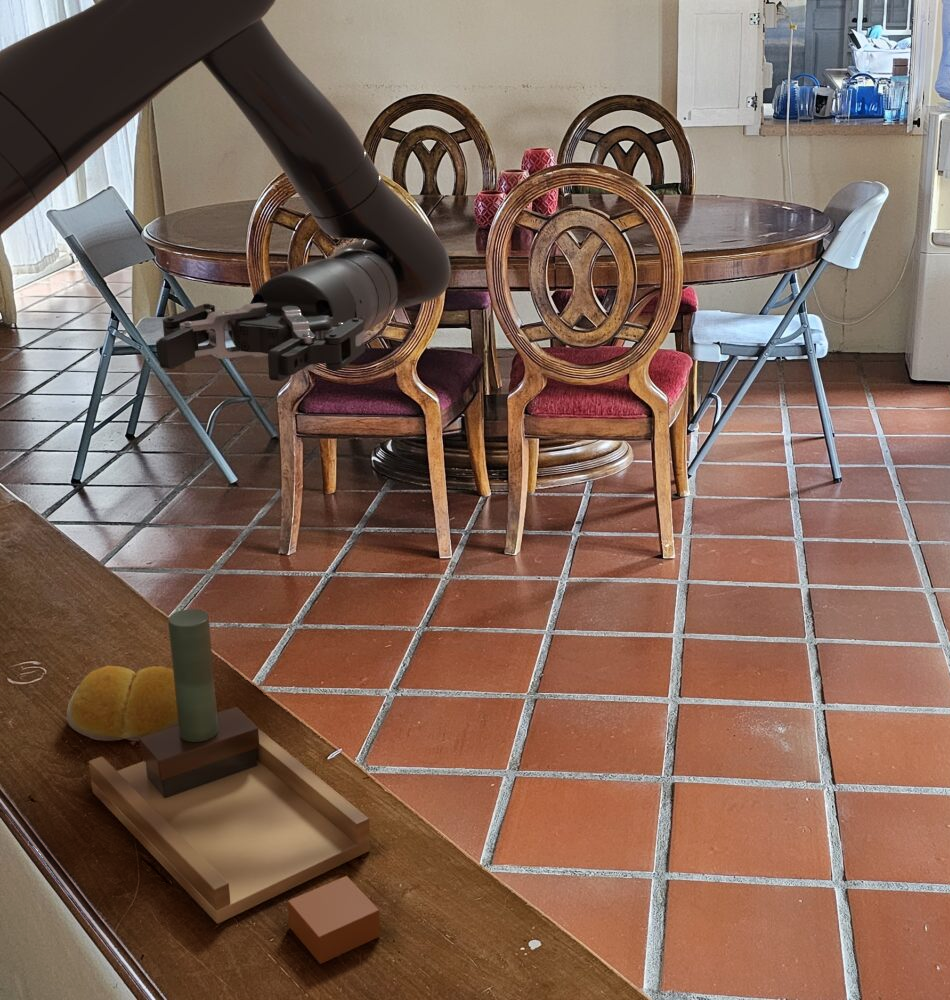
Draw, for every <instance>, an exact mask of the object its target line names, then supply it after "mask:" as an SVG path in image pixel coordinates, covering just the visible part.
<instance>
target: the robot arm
mask: <svg viewBox="0 0 950 1000" xmlns="http://www.w3.org/2000/svg"><path fill="white" fill-rule="evenodd" d="M276 1H277V0H99V1H98V2H96V3H95V4H93V5H91V6H89V7H87V8H86V9H84V10H82V11H79V12H78V13H76V14H73V15H71V16H70V17H69V16H68V17H67V18H65V19H63V20H61V21H59V22H57V23H54V24H51V25H49V26H48V27H45V28H43V29H41V30H38V31H37V32H34V33H33V34H30V35H28V36H26V37H23V38H22V39H20V40H18V41H15V42H14V43H12V44H10V45H9V46H5V48H3V49H1V50H0V236H1V235H2V234H4V233H5V232H6V231H7V230H8V229H9V228H10V227H12V226H13V225H14V224H15V223H17V222H18V221H19V220H21V219H22V218H23V217H24V216H26V215H27V214H28V213H29V212H31V211H32V210H33V209H34V208H35V207H36V206H38V205H39V204H40V203H41V202H42V201H44V200H45V199H46V198H47V197H48V196H49V195H50V194H51V193H52V192H54V191H55V190H56V189H57V188H58V187H60V186H61V184H63V183H64V182H65V181H66V180H67V179H68V178H69V177H70V176H72V175H73V174H74V173H75V172H76V171H77V170H78V169H79V168H80V167H81V166H82V165H83V164H84V163H85V162H86V161H87V160H88V159H89V158H91V156H92V155H93V154H95V152H97V151H98V150H99V149H100V148H101V147H103V146H104V145H105V144H106V143H107V142H108V141H109V140H110V139H111V138H113V137H114V136H115V135H116V134H117V133H118V132H119V131H120V130H122V129H123V128H124V127H125V126H126V125H127V124H128V123H130V122H131V120H132V119H134V118H135V117H136V116H137V115H138V114H139V113H140V112H141V111H143V109H144V108H146V106H147V105H148V104H149V103H151V102H152V101H153V100H154V99H155V98H156V97H157V96H158V95H159V94H160V93H161V92H162V91H163V90H165V89H166V88H167V87H168V86H169V85H171V84H172V83H173V82H175V81H176V80H177V79H178V78H180V77H181V76H182V75H184V74H185V73H187V72H188V71H189V70H191V69H192V68H193V67H194V66H196V65H198V64H199V63H202V64H203V65H204V66H205V68H206V69H207V70H208V71H209V72H210V74H211V75H212V76H213V78H214V79H215V80H216V81H217V83H219V85H220V86H221V87H222V88H223V90H224V91H225V92H226V93H227V95H228V96H229V97H230V98H231V100H232V101H233V102H234V104H235V105H236V106H237V107H238V109H239V110H240V111H241V113H242V114H243V116H244V117H245V118H246V120H247V121H248V123H249V124H250V125H251V126H252V128H253V129H254V131H255V132H256V133H257V135H259V138H260V139H261V140H262V141H263V143H264V144H265V146H266V147H267V150H269V152H270V153H271V155H272V156H273V158H274V159H275V161H276V162H277V163H278V166H279V167H280V168H281V170H282V171H283V173H284V174H285V176H286V177H287V179H288V181H289V182H290V184H291V185H292V187H293V188H294V190H295V192H296V193H297V194H298V196H299V198H300V199H301V201H302V202H303V204H304V206H305V207H306V209H307V210H308V211H309V214H310V215H311V216H312V218H313V219H314V221H315V222H316V224H317V225H318V227H319V228H320V229H321V230H322V232H323V233H325V234H326V235H328V236H330V237H332V238H335V239H343V240H345V239H346V240H349V239H350V240H353V239H356V240H357V241H354V242H351V243H349V244H346V245H344V246H342V247H339V248H338V249H337V250H336V251H335V252H334V253H333V254H332V255H331V256H328V257H325V258H320V259H316V260H312V261H309V262H306V263H304V264H302V265H300V266H297V267H294V268H292V269H290V270H288V271H285V272H283V273H281V274H278V275H276V276H274V277H270V278H269V279H267V280H266V281H265V282H263V283H262V284H261V285H260V287H258V289H257V290H256V291H255V294H254V295H253V297H252V299H251V301H250V303H247V304H244V305H243V306H242V307H239V308H233V309H225V310H217V311H216V306H215V305H214V304H211V303H203V304H200V305H198V306H195V307H192V308H189V309H187V310H184V311H181V312H179V313H175V314H173V315H171V316H168V317H166V318H163V319H162V330H163V336H162V337H161V338H159V339H158V340H157V341H156V342H155V346H156V358H157V362H159V367H160V368H161V369H168V370H173V369H176V368H177V367H180V366H181V365H183V364H185V363H187V362H189V361H191V360H193V359H195V358H199V357H205V356H213V357H215V358H217V359H218V360H228V359H234V358H235V359H236V358H240V357H241V358H242V357H249V356H251V357H253V358H262V357H267V364H268V365H267V367H268V378H269V380H271V381H276V382H282V381H284V380H285V379H287V378H289V377H291V376H293V375H295V374H297V373H299V372H301V371H302V370H303V371H307V372H310V371H313V370H315V369H317V365H319V364H322V365H324V364H325V370H328V371H332V372H337V371H340V370H343V369H344V368H345V367H346V366H349V364H350V363H352V362H353V361H354V360H356V359H357V358H358V357H360V356H361V355H362V354H364V353H365V352H366V351H365V348H366V347H365V333H366V332H368V331H370V330H372V329H373V328H375V327H376V326H377V325H380V323H382V322H383V321H384V320H385V319H386V318H387V317H388V316H389V315H390V314H391V313H392V311H396V310H400V309H403V308H408V307H412V306H416V305H421V304H424V303H427V302H431V301H433V300H437V298H439V297H441V296H442V295H443V294H444V293H445V291H446V290H448V289H447V288H448V286H449V284H450V280H451V276H452V275H451V274H452V268H451V261H450V257H449V254H448V252H447V249H446V247H445V245H444V244H443V242H442V240H441V239H440V237H439V236H438V234H437V233H436V232H435V230H434V229H433V228H432V227H431V226H430V225H429V224H428V223H427V222H426V221H424V219H423V218H421V216H419V215H418V214H417V213H416V212H415V211H414V210H413V208H411V207H410V206H408V205H407V203H406V202H405V201H404V200H403V199H401V197H399V196H398V195H397V193H395V192H394V190H392V188H390V187H389V186H388V184H386V182H385V180H384V179H383V177H382V176H381V174H380V172H379V171H378V169H377V167H376V165H375V164H374V162H373V160H372V159H371V157H370V155H369V154H368V152H367V150H366V149H365V147H364V145H363V143H362V141H361V140H360V138H359V137H358V136H357V134H356V132H355V130H354V129H353V128H352V127H351V125H350V124H349V122H348V121H347V120H346V119H345V117H344V116H343V115H342V113H341V112H340V111H339V110H338V109H337V108H336V107H335V106H334V105H333V104H332V102H331V101H330V100H329V99H328V98H327V97H326V96H325V94H324V93H323V92H322V91H321V90H320V89H319V88H318V87H317V86H316V85H315V84H314V83H313V81H312V80H310V79H309V78H308V77H307V76H306V75H305V73H304V72H303V71H302V70H301V69H300V68H299V66H297V65H296V63H295V62H294V61H293V60H292V59H291V58H290V57H289V56H288V54H287V53H286V52H285V50H284V49H283V47H281V45H280V44H279V43H278V40H276V39H275V37H274V35H273V34H272V33H271V31H270V30H269V28H268V26H267V25H266V23H265V22H264V20H263V18H264V17H265V16H266V15H267V13H268V12H269V10H271V8H272V7H273V6H274V5H275V3H276ZM358 239H360V240H358ZM226 332H227V334H228V336H229V338H230V340H231V341H232V344H233V346H228V347H227V345H226ZM205 342H208V343H207V344H204V345H200V344H202V343H205Z"/></svg>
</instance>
